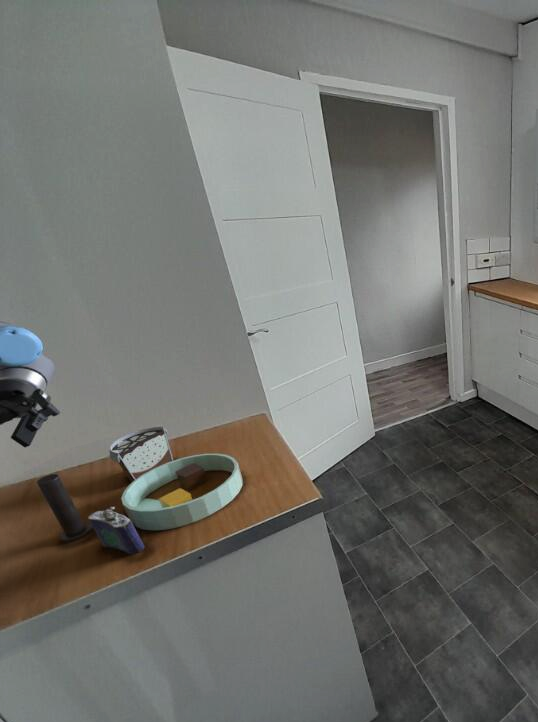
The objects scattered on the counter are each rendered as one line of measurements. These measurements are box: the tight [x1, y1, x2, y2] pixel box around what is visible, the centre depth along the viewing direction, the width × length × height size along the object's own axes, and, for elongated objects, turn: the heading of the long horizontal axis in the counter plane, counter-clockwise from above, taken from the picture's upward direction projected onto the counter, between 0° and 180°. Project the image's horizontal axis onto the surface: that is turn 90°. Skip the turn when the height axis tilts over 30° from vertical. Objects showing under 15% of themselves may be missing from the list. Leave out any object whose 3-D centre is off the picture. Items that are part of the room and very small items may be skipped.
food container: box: [109, 426, 174, 483], centre depth 98 cm, size 12×6×10 cm, turn 172°
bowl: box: [120, 453, 244, 531], centre depth 91 cm, size 20×20×6 cm
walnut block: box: [175, 463, 209, 491], centre depth 95 cm, size 4×4×4 cm
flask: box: [87, 506, 145, 555], centre depth 75 cm, size 9×3×11 cm, turn 73°
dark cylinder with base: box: [36, 473, 94, 544], centre depth 77 cm, size 4×4×15 cm
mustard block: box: [158, 487, 193, 508], centre depth 87 cm, size 4×4×4 cm
